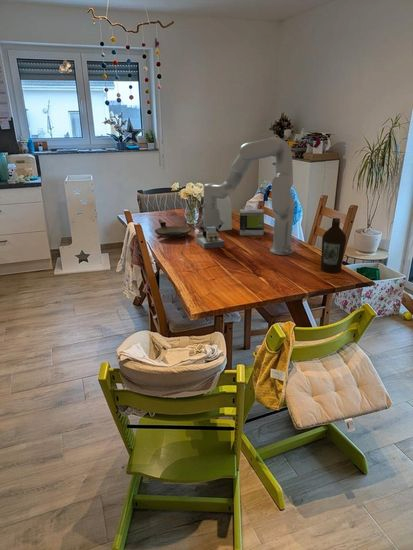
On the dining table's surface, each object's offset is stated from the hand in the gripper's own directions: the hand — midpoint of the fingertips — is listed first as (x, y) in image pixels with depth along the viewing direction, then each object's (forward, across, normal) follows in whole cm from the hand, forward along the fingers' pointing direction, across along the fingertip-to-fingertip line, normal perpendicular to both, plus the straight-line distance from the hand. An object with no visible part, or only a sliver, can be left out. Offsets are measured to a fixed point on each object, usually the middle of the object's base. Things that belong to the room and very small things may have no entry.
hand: (210, 236), depth 226 cm
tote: (-3, 0, 0) cm, 3 cm away
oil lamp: (+5, -16, +26) cm, 31 cm away
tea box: (+5, +32, +13) cm, 35 cm away
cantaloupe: (+5, +21, +70) cm, 73 cm away
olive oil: (+5, +40, -59) cm, 71 cm away
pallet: (+1, 0, 0) cm, 1 cm away
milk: (+5, +18, +32) cm, 37 cm away
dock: (+5, 0, +1) cm, 5 cm away
